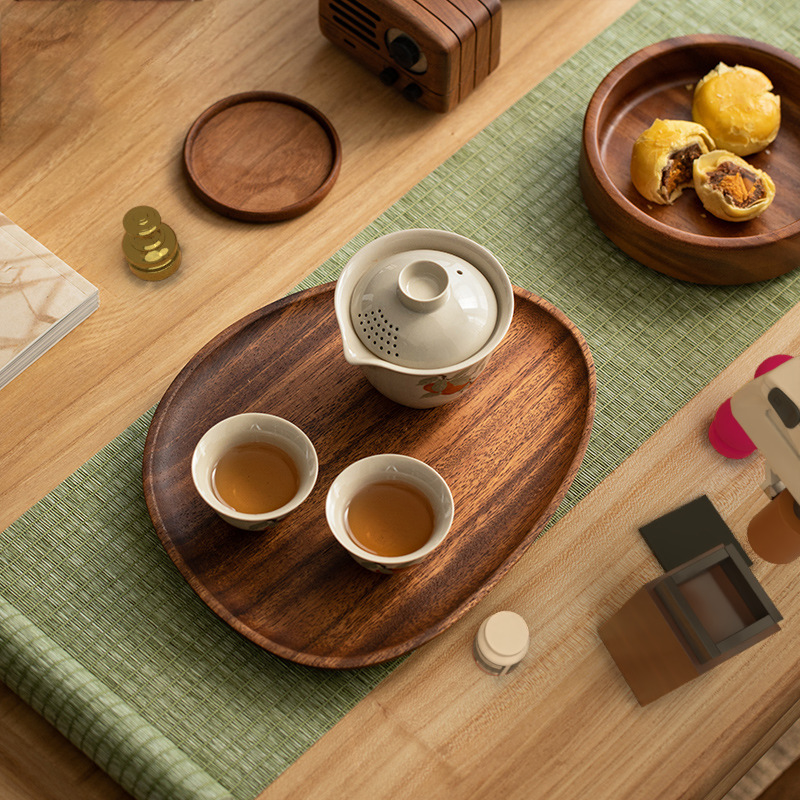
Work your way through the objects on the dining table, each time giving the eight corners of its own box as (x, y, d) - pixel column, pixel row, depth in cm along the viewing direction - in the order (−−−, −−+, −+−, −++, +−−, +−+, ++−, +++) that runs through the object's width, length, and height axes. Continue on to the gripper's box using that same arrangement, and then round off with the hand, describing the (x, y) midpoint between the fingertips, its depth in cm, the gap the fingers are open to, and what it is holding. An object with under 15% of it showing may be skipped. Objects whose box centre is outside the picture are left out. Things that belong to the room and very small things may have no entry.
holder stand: (664, 594, 110) (733, 533, 89) (711, 668, 106) (795, 622, 85) (596, 630, 107) (651, 576, 87) (642, 707, 104) (710, 669, 83)
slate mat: (704, 495, 116) (705, 494, 115) (752, 565, 112) (753, 563, 111) (637, 529, 113) (639, 527, 113) (684, 601, 109) (686, 600, 109)
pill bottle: (512, 621, 108) (525, 600, 99) (527, 670, 105) (541, 652, 96) (465, 633, 107) (474, 612, 98) (478, 682, 104) (489, 665, 95)
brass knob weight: (159, 229, 131) (145, 183, 122) (193, 261, 128) (180, 216, 120) (117, 259, 128) (99, 213, 119) (150, 291, 126) (134, 248, 117)
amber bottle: (779, 502, 81) (824, 462, 73) (814, 549, 79) (864, 514, 71) (735, 525, 80) (776, 488, 72) (769, 574, 78) (815, 541, 70)
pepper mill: (770, 435, 120) (842, 361, 102) (741, 474, 117) (809, 404, 99) (723, 402, 122) (785, 322, 104) (693, 439, 119) (752, 364, 101)
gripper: (1019, 566, 60) (908, 616, 72) (820, 324, 68) (751, 407, 80) (946, 610, 58) (845, 653, 71) (751, 357, 66) (691, 436, 79)
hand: (794, 521), depth 76 cm, fingers closed on amber bottle, 5 cm apart
